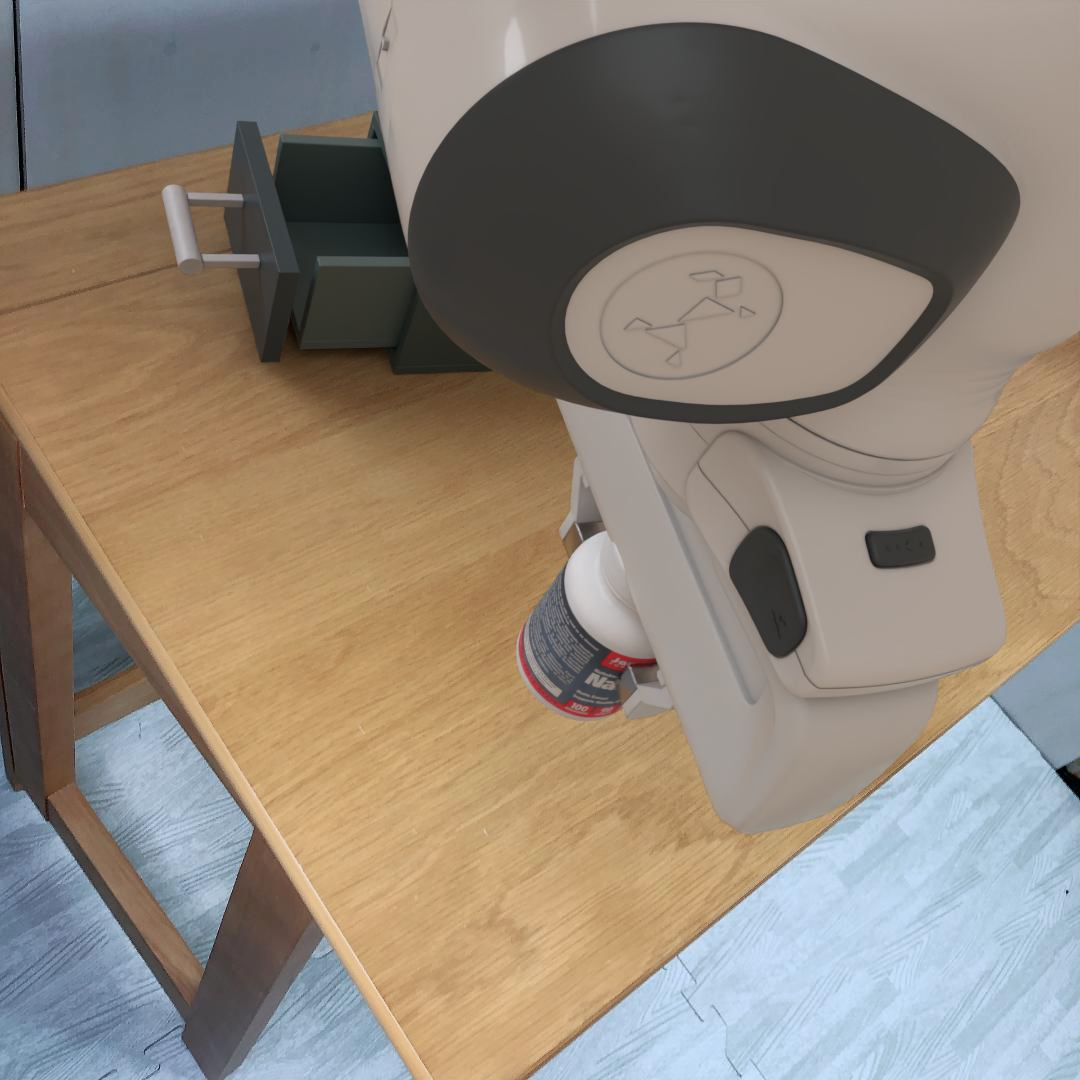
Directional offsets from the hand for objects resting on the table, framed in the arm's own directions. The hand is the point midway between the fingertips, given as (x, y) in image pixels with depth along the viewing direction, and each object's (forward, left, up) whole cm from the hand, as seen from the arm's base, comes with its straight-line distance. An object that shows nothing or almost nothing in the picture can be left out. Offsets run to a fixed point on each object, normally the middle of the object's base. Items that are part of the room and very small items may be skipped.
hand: (608, 622), depth 44 cm
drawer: (0, +36, -20) cm, 41 cm away
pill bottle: (0, 0, -4) cm, 4 cm away
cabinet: (+11, +36, -21) cm, 43 cm away
